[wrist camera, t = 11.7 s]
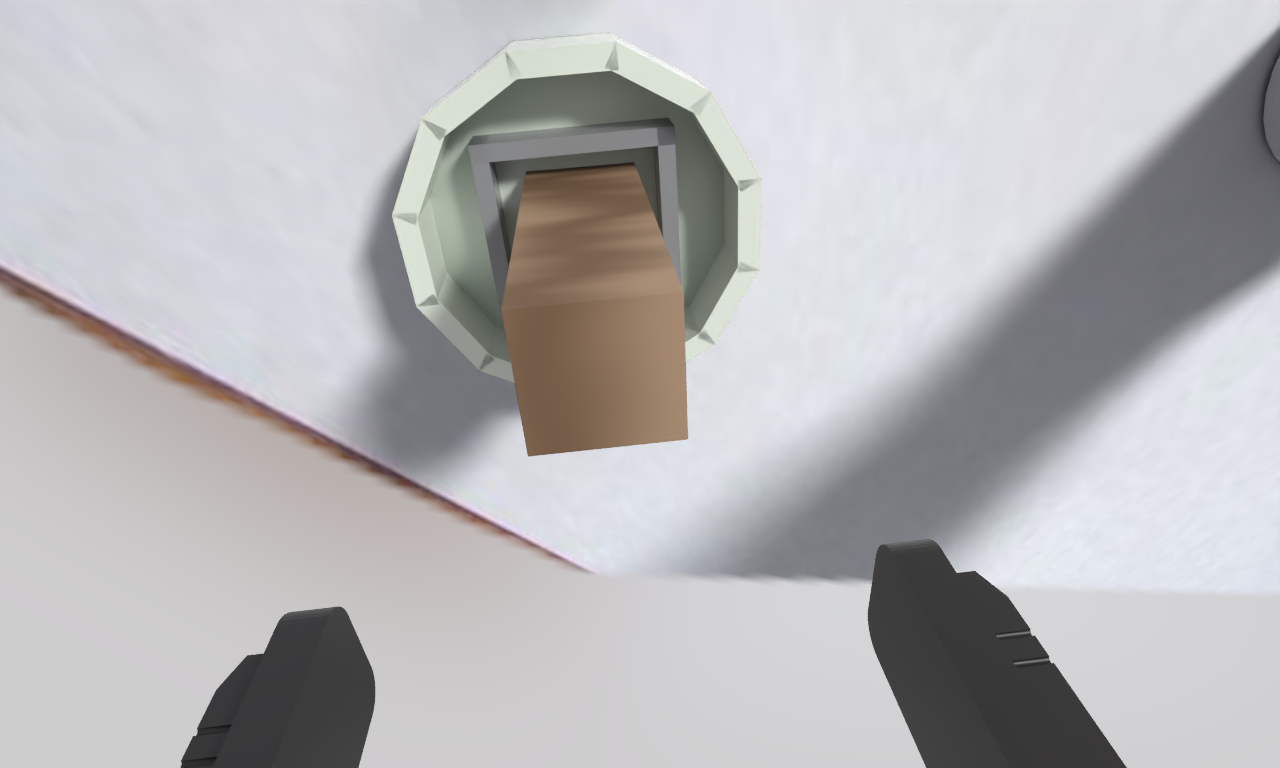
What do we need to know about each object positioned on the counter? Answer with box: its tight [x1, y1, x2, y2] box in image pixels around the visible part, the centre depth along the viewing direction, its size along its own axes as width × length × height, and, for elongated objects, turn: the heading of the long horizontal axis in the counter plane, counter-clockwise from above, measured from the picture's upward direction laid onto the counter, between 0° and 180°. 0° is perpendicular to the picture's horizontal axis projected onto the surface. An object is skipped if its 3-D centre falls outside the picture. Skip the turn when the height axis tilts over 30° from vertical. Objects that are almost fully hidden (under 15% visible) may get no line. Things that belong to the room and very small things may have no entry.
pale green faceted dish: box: [392, 33, 761, 383], centre depth 26 cm, size 13×13×4 cm
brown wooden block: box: [501, 162, 688, 456], centre depth 21 cm, size 4×4×12 cm
